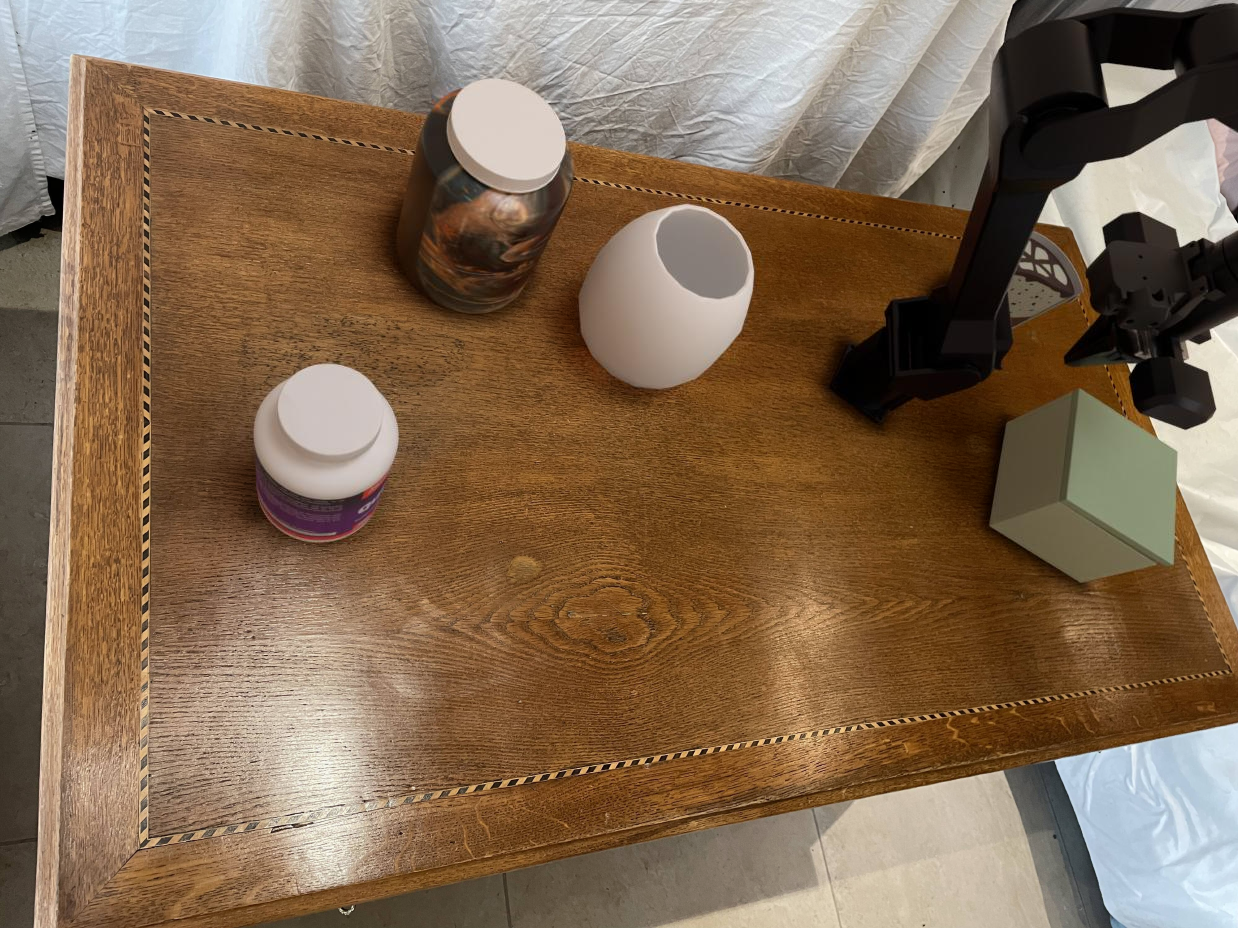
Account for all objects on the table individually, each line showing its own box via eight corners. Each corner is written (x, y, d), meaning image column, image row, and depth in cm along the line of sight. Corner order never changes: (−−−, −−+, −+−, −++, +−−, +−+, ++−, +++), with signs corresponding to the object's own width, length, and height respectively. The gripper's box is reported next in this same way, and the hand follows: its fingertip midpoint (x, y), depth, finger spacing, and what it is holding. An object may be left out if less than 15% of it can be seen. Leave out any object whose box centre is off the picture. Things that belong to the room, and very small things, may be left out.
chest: (1091, 478, 88) (1162, 452, 81) (1080, 583, 81) (1157, 565, 74) (1006, 422, 86) (1071, 391, 79) (988, 525, 79) (1058, 501, 72)
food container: (1004, 295, 93) (1079, 246, 85) (1010, 339, 91) (1087, 293, 82) (921, 263, 89) (990, 208, 81) (924, 308, 87) (996, 256, 78)
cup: (623, 431, 67) (696, 359, 55) (533, 307, 68) (587, 210, 56) (725, 366, 73) (809, 290, 62) (642, 254, 74) (710, 158, 63)
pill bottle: (368, 554, 55) (396, 491, 43) (245, 537, 53) (235, 464, 40) (387, 448, 58) (417, 361, 46) (270, 427, 56) (269, 328, 43)
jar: (365, 217, 64) (388, 78, 51) (483, 178, 70) (530, 44, 57) (444, 334, 63) (488, 222, 50) (556, 284, 69) (621, 173, 56)
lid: (1170, 454, 81) (1178, 451, 80) (1165, 567, 74) (1174, 565, 73) (1072, 391, 78) (1079, 387, 78) (1059, 501, 72) (1066, 498, 71)
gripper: (1151, 134, 60) (990, 252, 73) (1197, 342, 52) (1008, 430, 66) (1250, 186, 63) (1079, 289, 77) (1307, 388, 56) (1106, 463, 69)
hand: (1067, 362), depth 72 cm, fingers closed
